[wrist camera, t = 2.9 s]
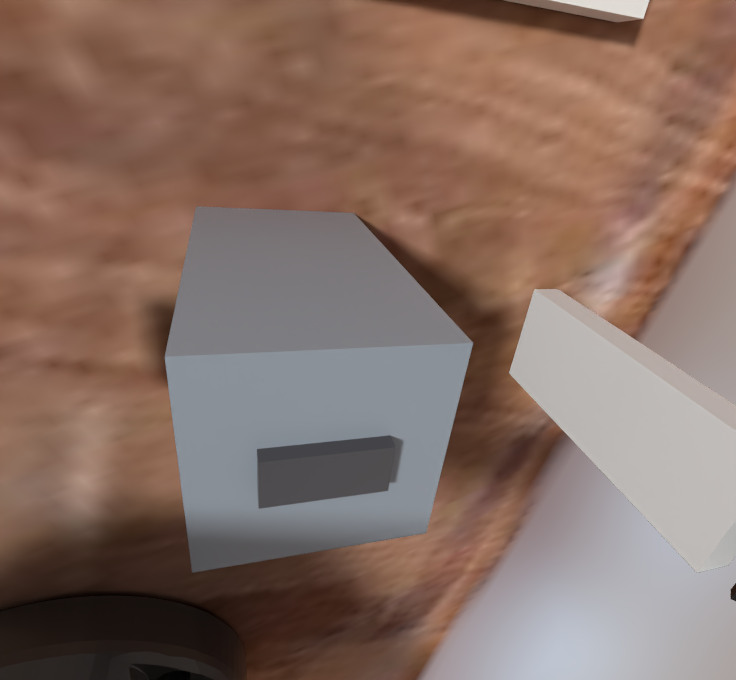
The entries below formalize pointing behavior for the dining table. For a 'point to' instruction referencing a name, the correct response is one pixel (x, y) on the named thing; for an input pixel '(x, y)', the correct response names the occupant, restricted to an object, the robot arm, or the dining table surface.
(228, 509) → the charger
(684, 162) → the dining table surface
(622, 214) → the dining table surface
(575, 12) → the charging dock
